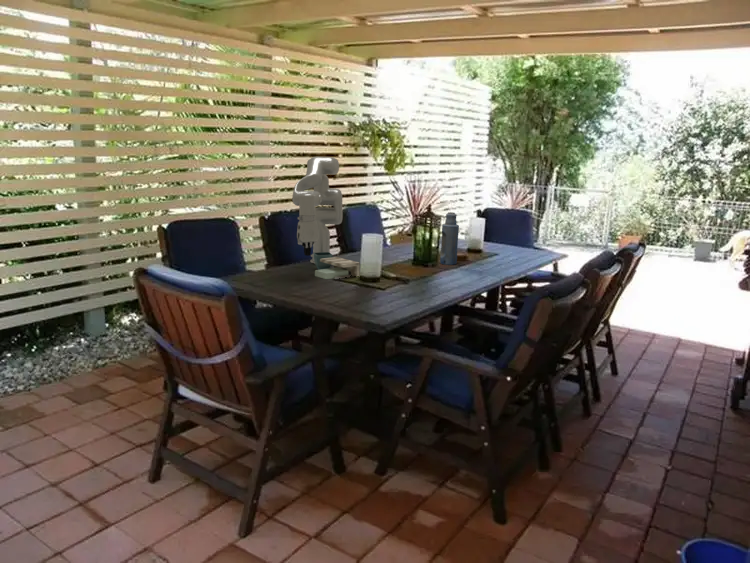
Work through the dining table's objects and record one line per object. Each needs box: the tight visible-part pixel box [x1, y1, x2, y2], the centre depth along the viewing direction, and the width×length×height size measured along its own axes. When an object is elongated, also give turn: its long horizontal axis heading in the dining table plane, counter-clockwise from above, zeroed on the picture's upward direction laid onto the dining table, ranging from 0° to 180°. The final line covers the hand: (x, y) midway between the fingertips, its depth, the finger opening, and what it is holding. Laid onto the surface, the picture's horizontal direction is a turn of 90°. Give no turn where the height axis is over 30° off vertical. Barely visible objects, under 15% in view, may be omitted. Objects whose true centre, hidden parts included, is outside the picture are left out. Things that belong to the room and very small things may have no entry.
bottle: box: [439, 211, 460, 266], centre depth 343 cm, size 10×10×30 cm
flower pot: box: [314, 252, 334, 270], centre depth 318 cm, size 9×9×9 cm
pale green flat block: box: [314, 267, 348, 280], centre depth 303 cm, size 10×14×3 cm
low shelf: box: [320, 256, 361, 280], centre depth 305 cm, size 20×14×8 cm
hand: (307, 255), depth 292 cm, fingers closed
